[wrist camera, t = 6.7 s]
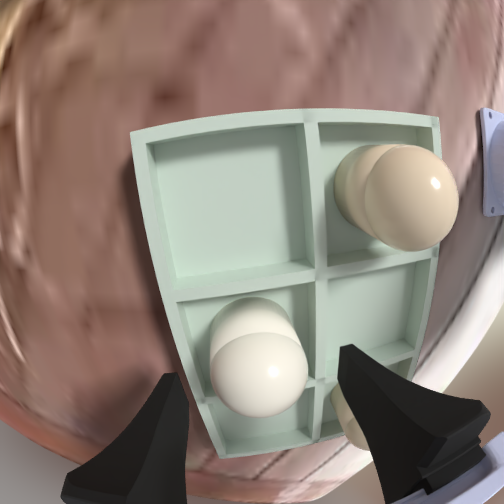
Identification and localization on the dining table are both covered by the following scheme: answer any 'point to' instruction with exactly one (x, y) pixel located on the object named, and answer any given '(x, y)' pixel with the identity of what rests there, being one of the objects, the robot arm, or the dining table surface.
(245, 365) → the cream egg
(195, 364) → the egg tray
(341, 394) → the tan egg
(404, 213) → the tan egg
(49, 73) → the dining table surface
